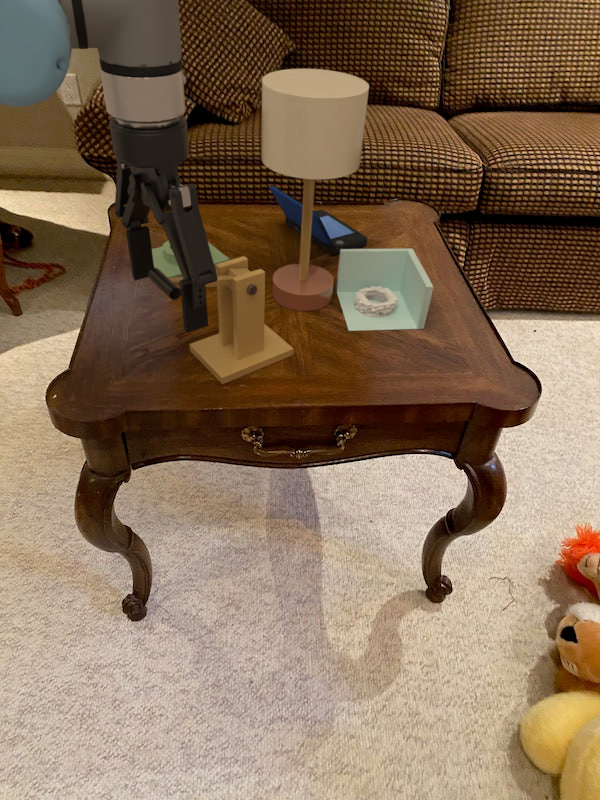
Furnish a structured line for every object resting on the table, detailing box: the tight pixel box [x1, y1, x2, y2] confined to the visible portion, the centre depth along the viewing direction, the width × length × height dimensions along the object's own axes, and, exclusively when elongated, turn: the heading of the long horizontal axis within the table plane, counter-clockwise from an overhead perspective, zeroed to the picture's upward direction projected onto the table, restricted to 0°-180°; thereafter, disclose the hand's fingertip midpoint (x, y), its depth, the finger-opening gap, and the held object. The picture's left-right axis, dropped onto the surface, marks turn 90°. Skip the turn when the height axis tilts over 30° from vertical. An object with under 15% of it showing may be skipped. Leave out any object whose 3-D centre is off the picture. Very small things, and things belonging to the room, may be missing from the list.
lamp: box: [260, 68, 370, 312], centre depth 87 cm, size 14×14×32 cm
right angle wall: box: [335, 247, 434, 332], centre depth 93 cm, size 12×12×8 cm
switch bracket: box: [188, 255, 295, 385], centre depth 80 cm, size 12×9×14 cm
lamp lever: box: [148, 268, 252, 301], centre depth 74 cm, size 13×6×2 cm, turn 127°
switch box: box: [152, 239, 231, 278], centre depth 101 cm, size 12×10×4 cm
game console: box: [269, 184, 369, 256], centre depth 110 cm, size 16×13×9 cm
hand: (168, 301), depth 72 cm, fingers open, 13 cm apart
